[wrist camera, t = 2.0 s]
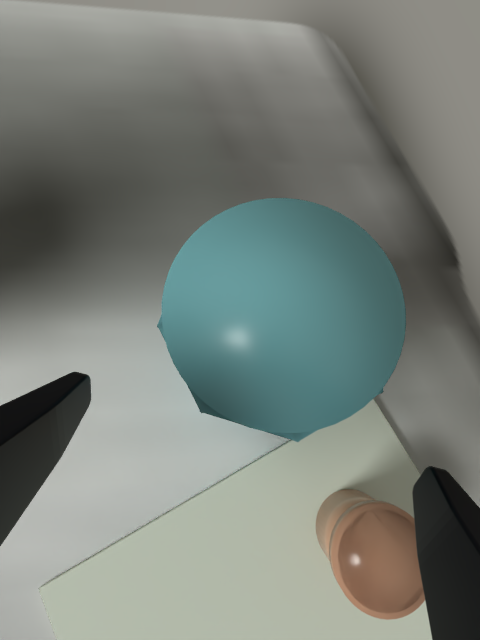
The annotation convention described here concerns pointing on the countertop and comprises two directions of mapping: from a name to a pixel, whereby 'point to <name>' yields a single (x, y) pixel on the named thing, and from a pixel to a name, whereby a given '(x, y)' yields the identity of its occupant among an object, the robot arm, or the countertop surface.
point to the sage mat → (245, 553)
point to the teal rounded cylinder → (283, 316)
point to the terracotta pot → (371, 553)
